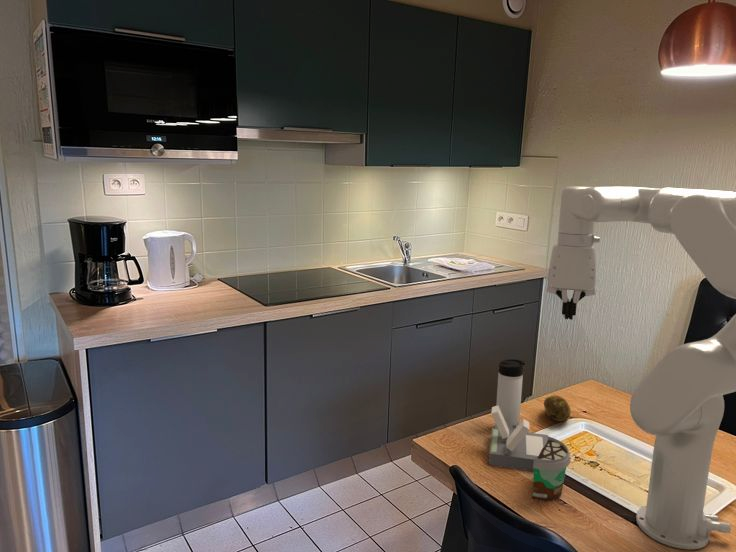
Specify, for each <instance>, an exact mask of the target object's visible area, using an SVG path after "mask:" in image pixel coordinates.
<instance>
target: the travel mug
mask: <svg viewBox="0 0 736 552" xmlns="http://www.w3.org/2000/svg"><path fill="white" fill-rule="evenodd" d="M525 365H526V362H525V360H520V359H512V358H509V359H504V360H501V361H500V362H499V364H498V371H497V372H498V373H497V375H498V376H497V389H496V405H495V406H499V408H500V411H501V413H502V415H503V417H504V420H505V422H506V424H507V427H508V429H509V430H513V431H514V430H515V429H516V428H517V426H518V425H519V424H520V422H521V421H520V420H521V419H520V418H521V406H522V393H523V379H524V378H523V377H524V376H523V375H524V367H523V366H525ZM494 423H495V422H494ZM494 428H497V429H498V427H497V425H496V423H495V424H494Z"/></svg>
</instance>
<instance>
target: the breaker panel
mask: <svg viewBox="0 0 736 552" xmlns="http://www.w3.org/2000/svg"><path fill="white" fill-rule="evenodd" d="M512 433H513V430H509V437H510V435H511V434H512ZM490 435H491V436H490V444H489V457H488V466H494V467H500V468H507V469H514V470H521V471H528V472H534V468H533V464H534V458H538V456H539V454H540V452H541V450H542V448H543V447H544V446H545V445H546V443H547V441H548V436H549V434H543V433H535V432H529V431H528V432H527V434H526V435H525V436H524V437H523V439H522V440H521V441H520V442H519V444H518V445H517V446H516V447H515V449H514V450H513V451H511V450H509V454H508V455H506V454H505V444H506V442H505V441H506V438H504V439H502V436H501V434H500V432H499V429H497V428H495V427H491V433H490Z"/></svg>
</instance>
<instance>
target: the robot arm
mask: <svg viewBox="0 0 736 552" xmlns="http://www.w3.org/2000/svg"><path fill="white" fill-rule="evenodd" d="M559 208H560V209H559V220H558V234H557V244H554V245H553V247H552V250H551V255H550V261H549V266H548V267H549V268H548V275H547V276H548V277H547V279H548V280H547V281H548V283H547V287H546V292H548V293H550V294H554V295H557V297H559V299H560V300H561V301H562V307H561V315H562V316H564V319H565V320H570V321H572V320H573V319H574V318H573V317H574V316H576V315H577V306H578V305H577V304H578V303H579V301H581V300H582V299H583V298H585V297H590V296H595V295H596V289H595V287H596V283H597V280H596V278H597V254H596V247H595V246H594V244H597V243H600V239H601V238H600V237H601V236H596V235H595V234H594V230H595V223H609V222H611V223H612V222H633V223H635V222H636V223H643V224H649V225H651V227H652V228H653V229H654V230H655V231H657V232H659V233H665V234H673V235H674V236H675V238H676V240H677V241H678V242H679V244H680V245H681V246H682V248H683V250H685V252H686V253H687V255H688V256H689V257H690V259H691V260H692V261H693V262H694V263H695V265H696V266H697V268H698V269H699V271H700V273H702V274H703V276H704V277H705V279H706V280H707V282H709V283H710V284H711V286H712V287H713V288H714V289H715V290H717V291H718V292H719V293H720V294H722V295H724V296H726V297H728V298H731V299H735V300H736V192H734V191H728V190H713V189H712V190H711V189H697V188H693V189H692V188H682V187H681V188H676V187H663V188H656V187H655V188H651V187H639V186H581V185H580V186H577V185H576V186H566V187H564V188H563V190H562V191H561V195H560V207H559ZM568 291H573V292H572V293H573V294H572V296H571V298H570V299H569V298H568V297H569V295H568ZM735 392H736V313H735V314H734V315H733V316H732V317H731V318H730V320H729V321H728V322H727V323H726V324H725V325H724V326H723V327H722V328H721V329H720V330H719V331H717V333H715V334H713V335H712V336H711V337H709V338H707V339H706V338H705V339H702V340H697V341H692V342H687V343H684V344H681V345H679V346H677V347H675V348H673V349H671V350H670V351H669V352H667V353H666V354H665V355H664V356H663V357H662V358H661V359H660V360H659V361H658V363H657V364H656V365H654V367H653V368H652V369H651V370H650V372H649V373H648V374H647V375H646V376H645V377H644V378H643V379H642V381H640V383H639V384H638V385H637V387H636V388H635V389H634V391H633V392H632V395H631V397H630V401H629V411H630V415H631V418H632V420H633V422H634V423H635V425H636V426H637V427H638V428H639V429H640V430H642V431H643V432H645V433H646V434H650V435H652V436H655V439H654V444H653V450H652V457H651V467H650V474H649V475H650V476H649V482H648V483H649V484H648V491H647V492H648V493H647V500H646V505H645V506H641V507H640V508H639V509H638V510H637V511H636V519H635V520H636V523H637V525H638V527H639V528H640V529H641V530H642V532H644V533H645V534H646V535H647V536H649V538H651V539H653V540H655V541H657V542H659V543H660V544H664V545H666V546H669V547H672V548H675V549H680V550H699V549H702V548H704V547H706V546H707V545H708V543H709V540H710V533H712V531H714V532H717V533H724V534H731V531H732V529H731V528H732V527H731V524H730V522H727V521H720V520H719V517H718V516H719V515H717V514H716V515H715V514H712V513H711V514H710V513H709V514H708V513H705V512H704V506H705V500H706V495H707V487H708V480H709V474H710V467H711V462H712V455H713V449H714V444H715V440H716V436H717V434H718V431H719V429H720V425H721V422H722V420H723V417H724V412H725V400H724V395H728V394H731V393H735Z"/></svg>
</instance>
